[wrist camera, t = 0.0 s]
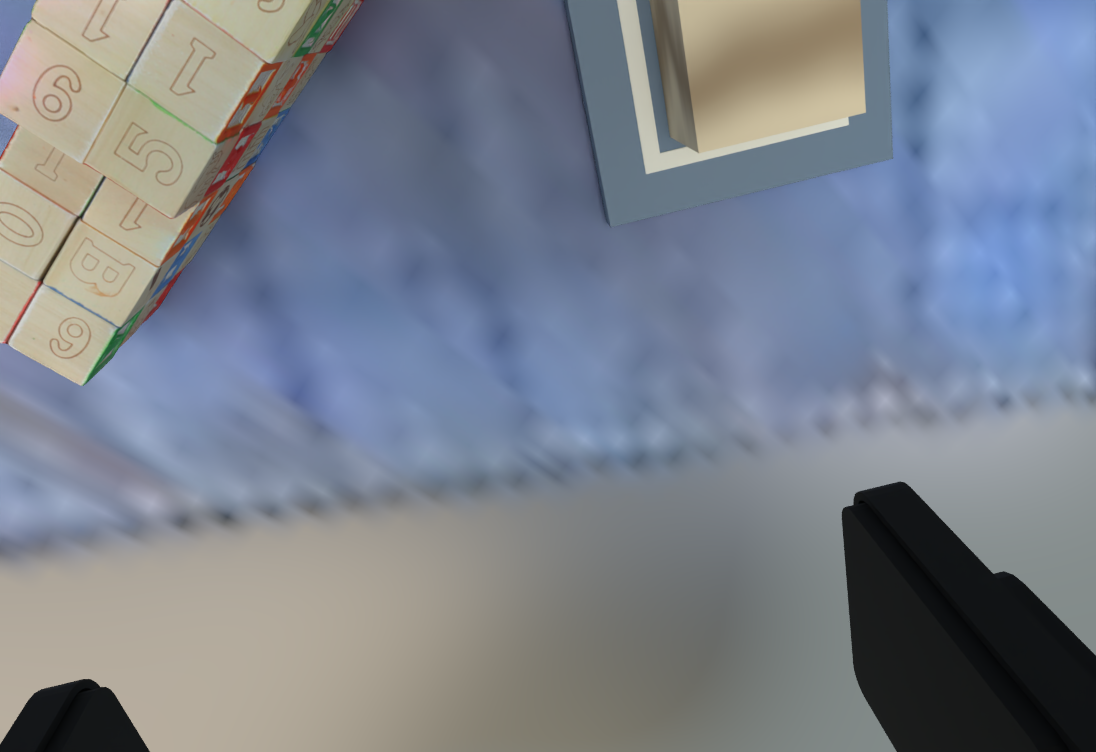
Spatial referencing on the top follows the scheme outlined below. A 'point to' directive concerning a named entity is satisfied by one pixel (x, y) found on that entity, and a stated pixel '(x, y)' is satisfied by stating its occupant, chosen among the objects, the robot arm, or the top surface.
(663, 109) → the board
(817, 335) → the top surface
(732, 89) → the maple base block
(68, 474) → the top surface
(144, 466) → the top surface
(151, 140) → the stack of blocks
